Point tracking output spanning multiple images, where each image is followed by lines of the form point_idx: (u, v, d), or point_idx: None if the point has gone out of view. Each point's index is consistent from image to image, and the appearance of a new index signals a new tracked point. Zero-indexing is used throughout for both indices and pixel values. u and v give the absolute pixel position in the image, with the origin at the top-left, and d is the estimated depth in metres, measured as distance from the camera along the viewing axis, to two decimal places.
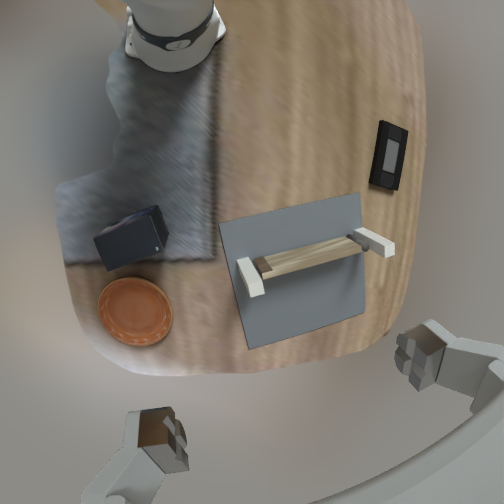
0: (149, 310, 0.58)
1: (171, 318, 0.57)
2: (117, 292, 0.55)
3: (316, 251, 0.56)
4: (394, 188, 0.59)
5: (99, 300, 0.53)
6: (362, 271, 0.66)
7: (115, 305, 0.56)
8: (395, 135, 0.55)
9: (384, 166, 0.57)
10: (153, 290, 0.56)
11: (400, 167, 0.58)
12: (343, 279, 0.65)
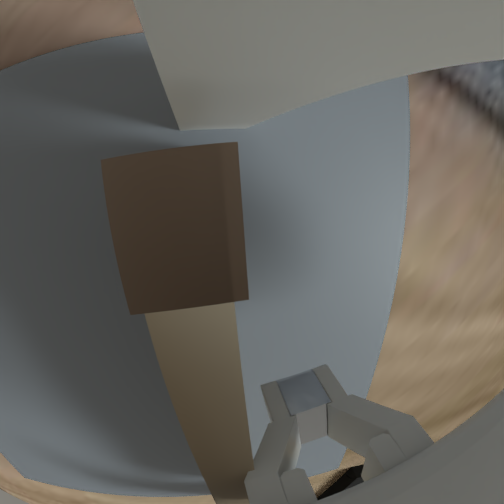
0: None
1: None
2: None
3: None
4: None
5: None
6: (127, 493, 0.17)
7: None
8: None
9: None
10: None
11: None
12: (99, 465, 0.15)
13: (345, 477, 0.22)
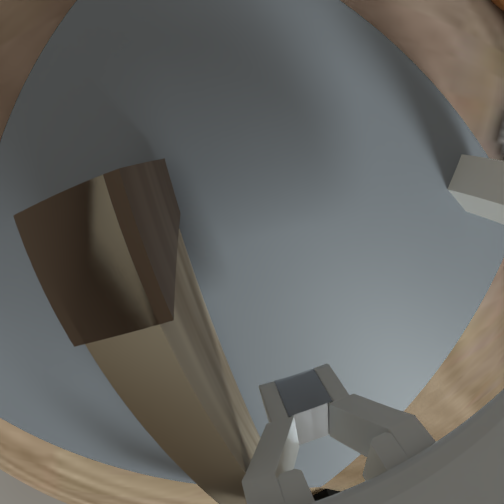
0: None
1: None
2: None
3: None
4: None
5: None
6: (127, 467, 0.15)
7: None
8: None
9: None
10: None
11: None
12: (137, 430, 0.14)
13: (316, 497, 0.22)
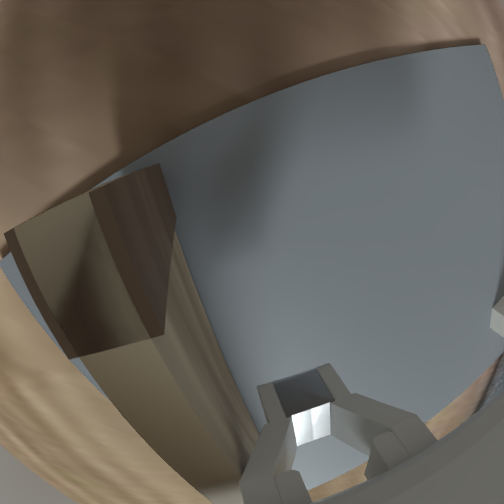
0: None
1: None
2: None
3: None
4: None
5: None
6: None
7: None
8: None
9: None
10: None
11: None
12: None
13: None
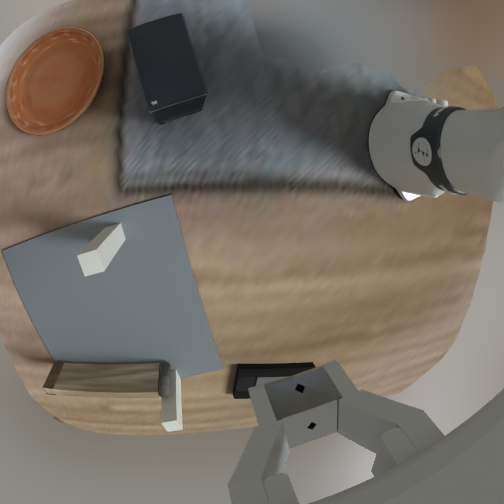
0: (52, 100, 0.29)
1: (39, 133, 0.29)
2: (83, 54, 0.28)
3: (108, 378, 0.40)
4: (236, 394, 0.50)
5: (77, 29, 0.25)
6: None
7: (65, 52, 0.27)
8: None
9: (262, 378, 0.50)
10: (79, 104, 0.31)
11: None
12: None
13: (237, 371, 0.49)
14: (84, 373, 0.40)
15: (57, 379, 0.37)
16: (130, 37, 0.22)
